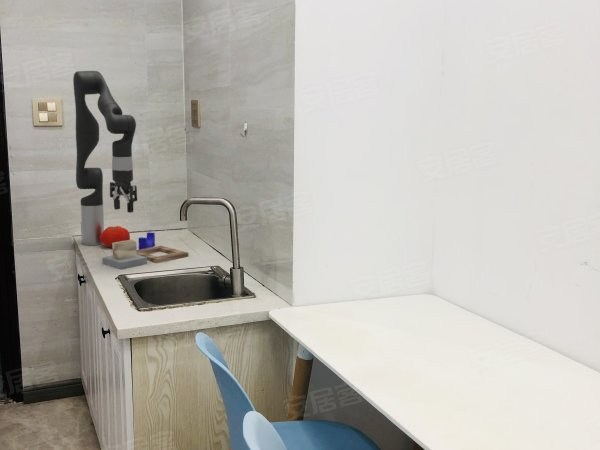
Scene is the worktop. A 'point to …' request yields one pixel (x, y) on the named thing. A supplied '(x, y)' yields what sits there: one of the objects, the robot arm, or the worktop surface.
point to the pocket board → (170, 256)
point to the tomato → (114, 235)
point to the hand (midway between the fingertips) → (123, 210)
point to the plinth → (124, 261)
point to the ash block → (124, 249)
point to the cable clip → (147, 241)
